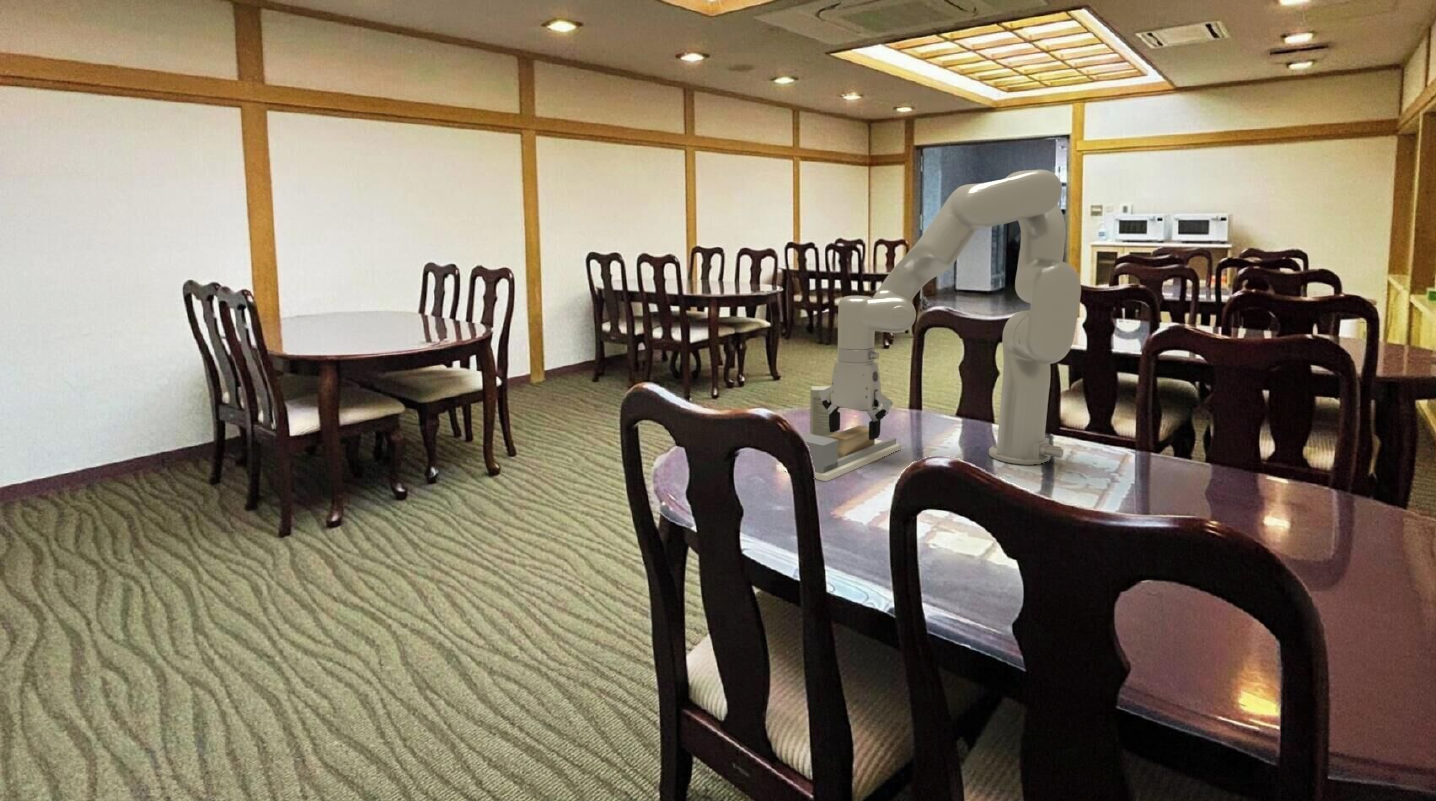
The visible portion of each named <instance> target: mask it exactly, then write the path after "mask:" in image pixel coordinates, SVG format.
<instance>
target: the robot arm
mask: <svg viewBox="0 0 1436 801" xmlns="http://www.w3.org/2000/svg"><path fill="white" fill-rule="evenodd" d="M1062 195H1063V185H1062V182H1061V180H1060V178H1059V177H1058V176H1057V175H1056V174H1055V173H1054V172H1052V171H1050V170H1047V169H1030V170H1029V169H1028V170H1018V171H1014V172H1012V173H1010V174H1008V176H1006V177H1005V178H1002V179H998V180H992V181H987V182H982V183H979V182H978V183H970V184H963V185H961V186H959V187H957V188H956V189H955V190H954V191H953V192H951V194H950V196H949V197H948V198H947V200H946V201H945V202H944V204H943V205H942V206H941V208H940V209H939V211H938V212H937V214H936V215H935V217H934V218H933V220H932V221H931V222H930V223H929V225H928V227H927V228H926V229H925V231H924V232H923V234H922V235H921V236H920V238H919V239H918V241H917V242H916V243H915V245H914V246H912V248H911V249H909V251H908V252H907V253H906V254H905V255H904V257H902V259H901V260H900V261H899V262H898V263H896V265H895V266H894V267H893V269H892V270H890V273H889V274H888V275H887V276H886V278H885V279H884V280H883V282H882V283H881V284H880V286H879V288H878V289H877V291H876V292H875V293H874V294H873V297H871V296H866V295H847V296H843V297H841V299H839V301H838V306H837V308H838V310H837V311H838V313H837V316H838V317H837V321H838V322H837V360H835V361H834V364H833V365H834V366H833V370H832V376H831V383H830V386H831V387H829V388H827V389H825V390H822V391H820V392H819V395H820V398H821V400H822V404H823V406H824V407H825V408H826V410H827V413H828V414H829V427H830V432H831V433H833V432H835V431H837V432H838V431H840V430H841V412H840V411H839V410H840V409H846V410H852V411H859V412H866V413H867V415H868V416H869V418H870V419H871V420H870V421H868V427H869V439H870V440H874V439H876V440H877V439H878V438H879V437H880V435H881V424H882V422H881V420H883V419H884V417H885V416H887V415H888V414H889V411H890V409H891V408H892V406H893V404H894V402H893V401H892V400H891V399H889V398H888V397H887V396H886V395H884V393H882V386H881V385H882V383H881V375H880V369H879V365H878V364H879V363H878V362H875V360H878V359H879V357H880V353H879V352H876V350H875V334H876V332H884V333H892V334H893V333H894V334H899V333H902V332H905V331H907V330H909V329H910V328H911V327H912V326H913V325H914V323H915V321H916V317H917V312H916V311H917V310H916V309H915V306H914V304H913V303H912V301H913V299H914V298H915V296H916V295H917V294H918V293H919V292H920V290H922V288H923V287H924V286H925V285H927V283H928V282H930V281H932V279H934V278H936V277H938V276H940V275H942V274H943V273H944V272H946V271H948V270H949V269H950V268H951V267H952V266H953V265H954V264H955V262H956V261H957V259H959V256H960V255H961V253H962V252H963V251H964V250H965V248H966V247H967V246H968V243H970V241H971V240H972V238H973V237H974V235H975V234H976V233H977V231H978V230H979V228H980V229H982V228H983V229H984V228H990V227H996V226H1000V225H1006V224H1009V223H1010V224H1011V223H1012V222H1016V221H1017V222H1018V224H1019V227H1020V228H1019V229H1020V246H1019V247H1020V249H1019V253H1018V259H1017V260H1018V262H1017V270H1016V274H1015V283H1014V288H1015V289H1014V290H1015V292H1016V294H1017V297H1019V298H1020V300H1022V301H1023V302H1026V303H1028V304H1030V307H1029V308H1030V309H1027V310H1021V311H1018V312H1015V313H1014V314H1013V315H1012V316H1010V317H1009V318H1008V320H1007V321H1006V322H1005V324H1004V327H1003V331H1002V356H1003V361H1002V362H1003V367H1002V368H1003V369H1002V382H1001V383H1002V384H1001V393H1000V394H1001V395H1000V405H999V415H998V416H999V417H998V426H997V427H998V428H997V440H996V441H997V443H996V444H995V445H992V446H991V447H989V449H988V455H989V457H991V458H993V459H995V460H998V461H1000V462H1004V463H1009V464H1013V465H1025V466H1028V465H1030V466H1032V465H1034V464H1037V465H1042V464H1041V463H1043V464H1045V463H1044V462H1046V461H1048V462H1050V461H1049V460H1051V456H1052V457H1054V458H1059V459H1062V458H1063V455H1064V449H1063V448H1062V446H1058V445H1053V444H1052V445H1051V443H1049V442H1050V438H1049V437H1045V436H1046V426H1047V416H1048V415H1047V414H1048V404H1049V395H1050V388H1051V373H1052V372H1051V364H1056V363H1058V362H1060V361H1061V360H1063V359H1064V358H1065V357H1066V356H1067V354H1068V353H1069V352H1070V351H1071V348H1072V346H1073V344H1074V339H1075V333H1076V328H1077V322H1078V317H1079V316H1078V315H1079V309H1080V303H1081V295H1082V285H1081V284H1082V283H1081V280H1080V276H1079V274H1078V272H1077V271H1076V270H1075V269H1076V268H1074V267H1073V266H1072V265H1070V264H1069V263H1067V262H1065V261H1064V253H1065V245H1066V244H1065V243H1066V230H1067V229H1066V222H1065V218H1064V214H1063V211H1062V209H1061V207H1060V205H1059V202H1060V201H1061V198H1062ZM830 393H831V401H830V400H829V397H828V395H829V394H830ZM881 405H882V407H881ZM880 407H881V408H880ZM879 408H880V409H879Z"/></svg>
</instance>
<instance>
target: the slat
mask: <svg viewBox="0 0 1436 801" xmlns="http://www.w3.org/2000/svg"><path fill="white" fill-rule="evenodd" d="M829 438H832V439H837V440H839V443H838V459H840V458H842V457H845V456H847V455H850V454H852V453H855V452H857V451H860V450H862V449H865V448H867V447H870V446H872V445H874V444H875V439H874V440H870V439H869V426H865V425H857V426H853V427H851V428H848V429H844V430H843V431H839V432H837V433H836V434H833V435H830V436H829Z"/></svg>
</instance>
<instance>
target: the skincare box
mask: <svg viewBox="0 0 1436 801" xmlns="http://www.w3.org/2000/svg"><path fill="white" fill-rule="evenodd" d="M829 387H831V385H829V386H828V385H810V396H809V397H810V402H809V403H810V408H809V409H810V411H809V412H810V413H809V416H810V418H809V419H810V421H809V424H810V425H809V426H810V428H809V429H810V430H809V432H810V433H809V434H813V435H818V436H823V437H827V438H829V436H830V435H833V434H836V433H838V431H835V432H833V433H831V432H830V427H829V414H828V413H827V410H826V408H825V407H824V406H823V404H822V400H821V398H820V395H819V392H820V391H822V390H825V389H827V388H829ZM828 397H829V400H830V401H831V393H830V394H829V395H828Z"/></svg>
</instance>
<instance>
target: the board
mask: <svg viewBox="0 0 1436 801" xmlns="http://www.w3.org/2000/svg"><path fill="white" fill-rule="evenodd" d="M802 436H803V437H804V440H805V441H806V443H807V445H808V446H809V449H810V454H811V456H812V460H813V465H814V467H815V477H816V479H815V480H819V481H821V482H822V481H823V482H829V481H831V480H833V479H836V478H838V477H840V476H843V475H844V474H848V473H849V472H852V471H855V470H856V469H858V468H862V467H864V466H866V465H868V464H871V463H873V462H875V461H877V460H881V459H882V457H883V458H884V456H885V457H886V456H889V454H890V455H892V454H894V453H896V452H895V451H897V452H899V451H901V450H902V444H901V443H897V438H896V437H891V438H887V439H885V440H880V439H877V438H876V439H875V444H874V445H872V446H870V447H867V448H865V449H862V450H860V451H857V452H855V453H852V454H850V455H847V456H845V457H842V458H840V459H838V443H839V440H837V439H832V438H827V437H823V436H818V435H813V434H810V433H808V432H807V433H805V434H802ZM900 449H901V450H900ZM898 450H899V451H898ZM893 452H894V453H893ZM891 453H892V454H891Z"/></svg>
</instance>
